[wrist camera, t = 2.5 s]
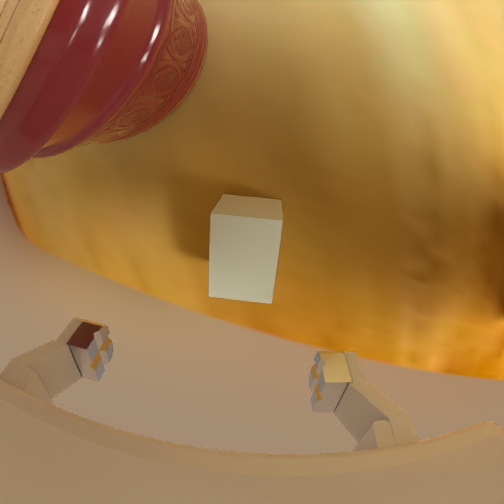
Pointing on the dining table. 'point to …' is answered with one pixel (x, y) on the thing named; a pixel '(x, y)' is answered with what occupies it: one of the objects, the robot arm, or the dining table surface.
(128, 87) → the canister
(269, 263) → the sage block
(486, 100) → the dining table surface
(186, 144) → the dining table surface
